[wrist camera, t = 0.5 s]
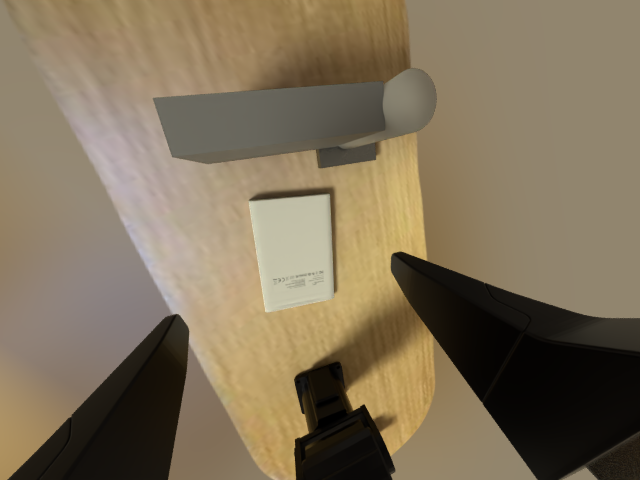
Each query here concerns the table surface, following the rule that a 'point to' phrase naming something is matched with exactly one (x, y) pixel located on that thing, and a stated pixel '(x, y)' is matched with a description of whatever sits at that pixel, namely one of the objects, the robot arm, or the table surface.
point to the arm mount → (345, 155)
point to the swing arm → (295, 118)
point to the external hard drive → (293, 249)
